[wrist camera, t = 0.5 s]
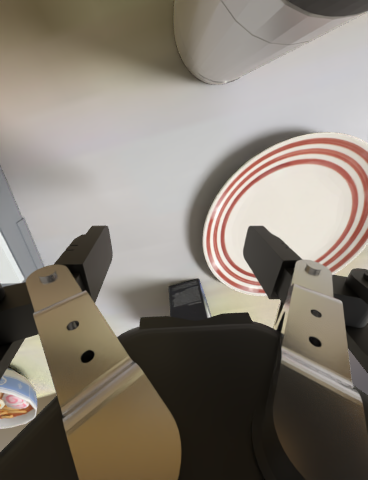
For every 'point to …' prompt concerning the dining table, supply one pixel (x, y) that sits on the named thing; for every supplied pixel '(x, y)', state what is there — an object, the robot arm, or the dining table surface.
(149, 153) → the dining table surface
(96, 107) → the dining table surface
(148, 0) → the dining table surface
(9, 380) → the ramen bowl
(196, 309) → the small box
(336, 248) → the dinner plate
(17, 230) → the housing
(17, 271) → the lid
